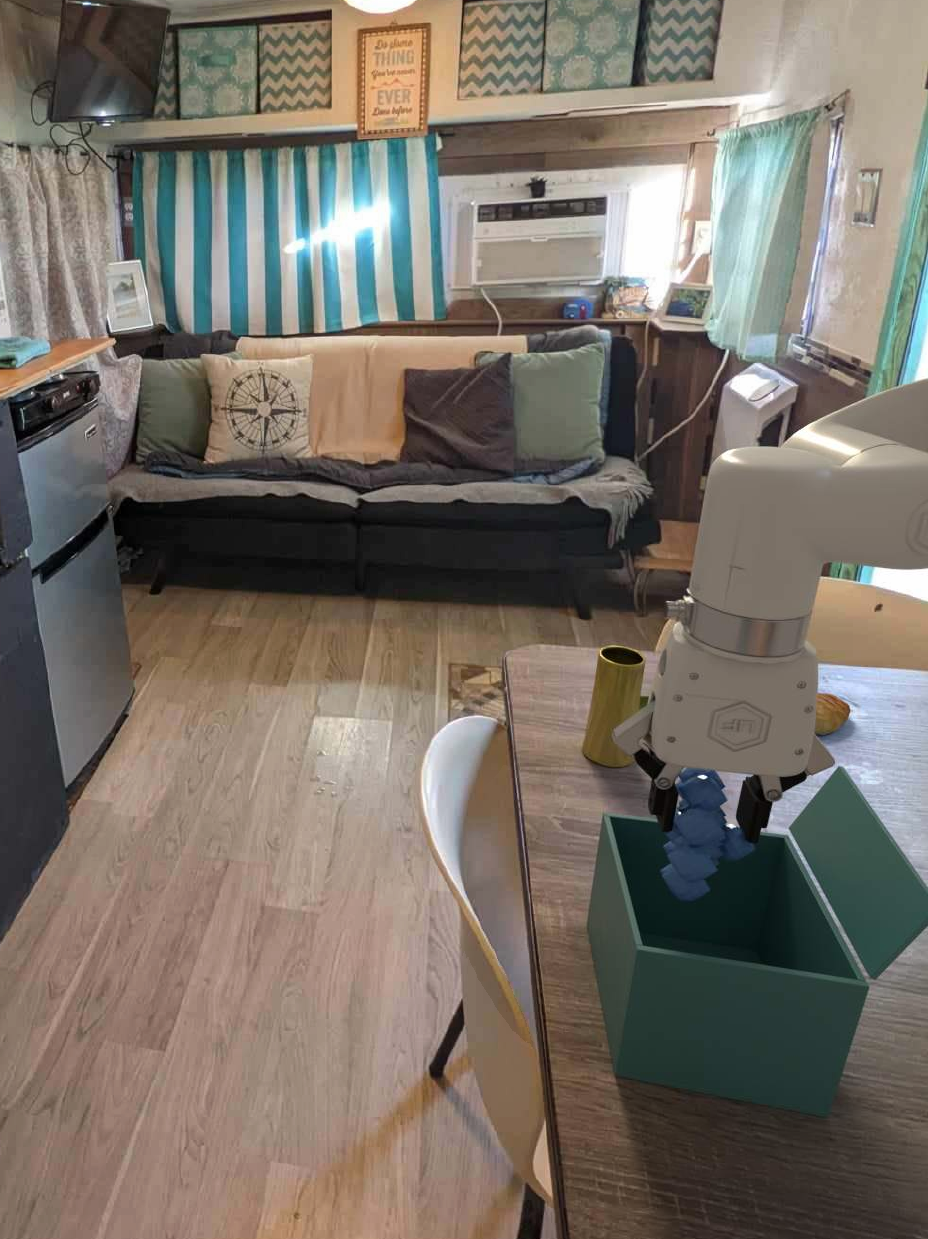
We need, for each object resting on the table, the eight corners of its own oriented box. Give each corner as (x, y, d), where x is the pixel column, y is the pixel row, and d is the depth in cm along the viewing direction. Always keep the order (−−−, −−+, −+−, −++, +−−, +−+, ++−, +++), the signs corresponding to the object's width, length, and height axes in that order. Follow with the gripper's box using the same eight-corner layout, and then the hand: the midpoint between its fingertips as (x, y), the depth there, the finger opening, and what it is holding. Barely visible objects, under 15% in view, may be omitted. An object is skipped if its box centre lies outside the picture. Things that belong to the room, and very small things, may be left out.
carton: (759, 951, 78) (788, 834, 73) (828, 1118, 64) (870, 986, 59) (586, 924, 82) (602, 812, 77) (614, 1076, 67) (637, 949, 63)
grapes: (742, 961, 62) (776, 832, 58) (641, 928, 66) (667, 803, 61) (739, 862, 72) (768, 744, 67) (651, 837, 75) (674, 723, 71)
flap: (788, 827, 73) (792, 829, 73) (869, 978, 59) (875, 980, 59) (838, 765, 70) (843, 767, 70) (937, 907, 56) (944, 910, 55)
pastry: (812, 699, 117) (818, 675, 115) (864, 723, 111) (871, 698, 109) (767, 716, 113) (773, 692, 112) (818, 742, 107) (825, 717, 106)
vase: (585, 735, 111) (598, 639, 106) (636, 747, 108) (652, 649, 103) (578, 760, 106) (591, 661, 101) (631, 773, 103) (648, 672, 98)
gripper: (623, 636, 59) (594, 843, 65) (910, 656, 54) (848, 876, 61) (606, 592, 65) (581, 784, 72) (860, 607, 61) (809, 810, 68)
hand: (703, 824), depth 66 cm, fingers closed on grapes, 5 cm apart
